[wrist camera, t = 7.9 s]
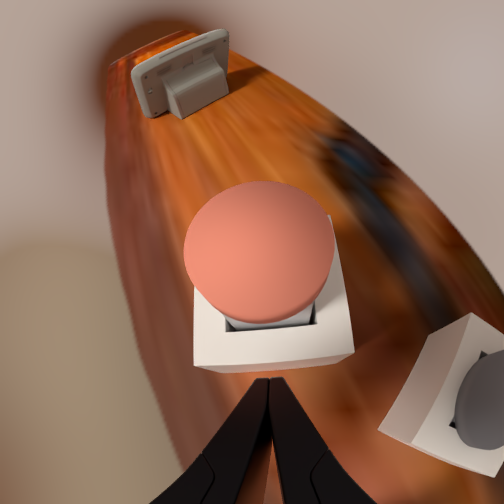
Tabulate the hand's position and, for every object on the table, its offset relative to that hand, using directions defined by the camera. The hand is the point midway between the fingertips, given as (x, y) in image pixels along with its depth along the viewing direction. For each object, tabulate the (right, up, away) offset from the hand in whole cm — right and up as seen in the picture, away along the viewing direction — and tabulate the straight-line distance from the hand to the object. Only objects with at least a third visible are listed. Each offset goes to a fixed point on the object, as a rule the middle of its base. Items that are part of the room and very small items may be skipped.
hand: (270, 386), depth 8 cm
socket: (+15, -8, +9) cm, 20 cm away
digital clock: (-10, +29, +32) cm, 44 cm away
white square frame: (+1, -1, +15) cm, 15 cm away
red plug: (+1, +1, +11) cm, 11 cm away
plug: (+15, -8, +8) cm, 19 cm away
